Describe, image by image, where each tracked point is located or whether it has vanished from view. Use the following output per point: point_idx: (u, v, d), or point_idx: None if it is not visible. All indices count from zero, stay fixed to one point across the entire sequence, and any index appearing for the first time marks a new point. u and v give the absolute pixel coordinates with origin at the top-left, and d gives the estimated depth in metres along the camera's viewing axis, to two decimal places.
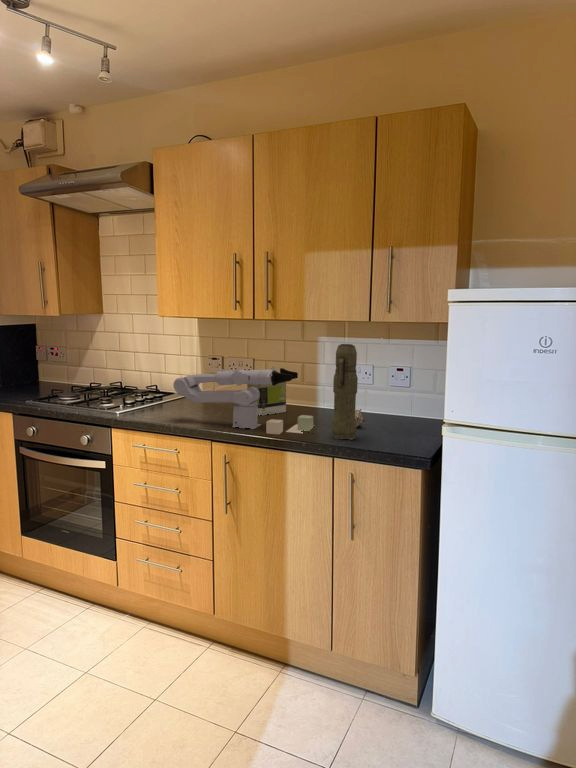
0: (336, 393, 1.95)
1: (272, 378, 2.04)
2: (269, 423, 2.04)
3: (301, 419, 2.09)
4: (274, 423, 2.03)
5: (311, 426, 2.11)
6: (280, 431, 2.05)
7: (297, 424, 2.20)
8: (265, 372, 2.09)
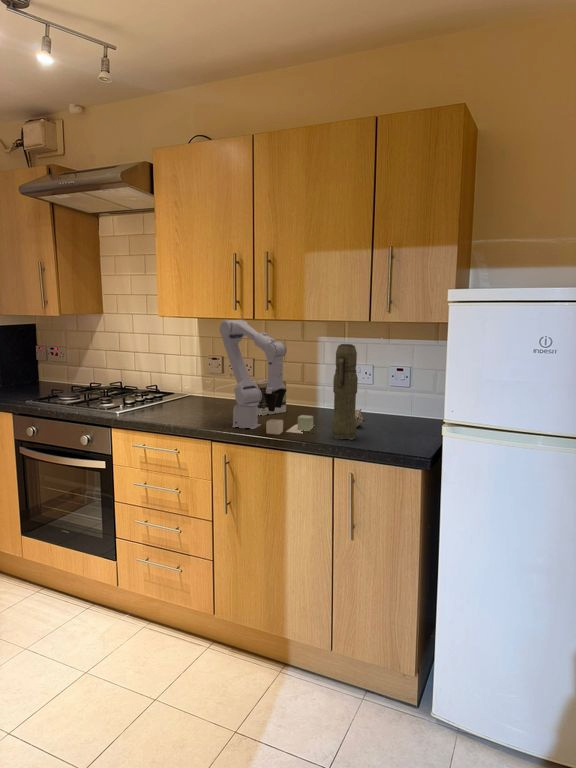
0: (336, 393, 1.95)
1: (269, 394, 1.98)
2: (269, 423, 2.04)
3: (301, 419, 2.09)
4: (274, 423, 2.03)
5: (311, 426, 2.11)
6: (280, 431, 2.05)
7: (297, 424, 2.20)
8: (278, 381, 2.01)
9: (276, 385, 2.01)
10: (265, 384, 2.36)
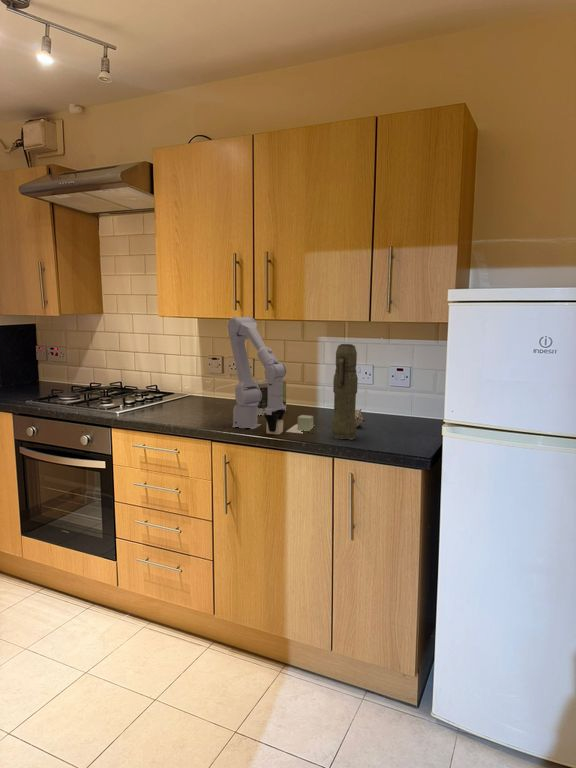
0: (336, 393, 1.95)
1: (270, 414, 2.00)
2: None
3: (301, 419, 2.09)
4: None
5: (311, 426, 2.11)
6: (280, 431, 2.05)
7: (297, 424, 2.20)
8: (278, 403, 2.02)
9: (276, 406, 2.02)
10: (265, 384, 2.36)
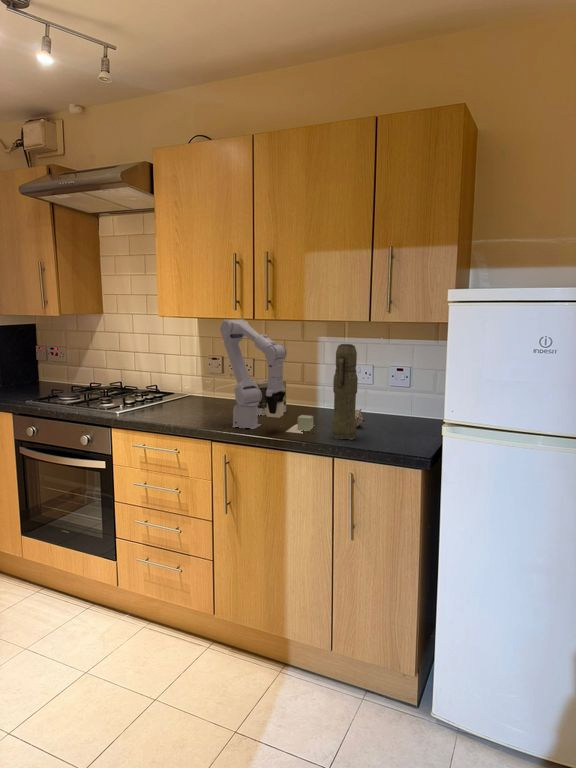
0: (336, 393, 1.95)
1: (270, 396, 1.99)
2: None
3: (301, 419, 2.09)
4: None
5: (311, 426, 2.11)
6: (280, 413, 2.04)
7: (297, 424, 2.20)
8: (278, 384, 2.01)
9: (276, 388, 2.01)
10: (265, 384, 2.36)
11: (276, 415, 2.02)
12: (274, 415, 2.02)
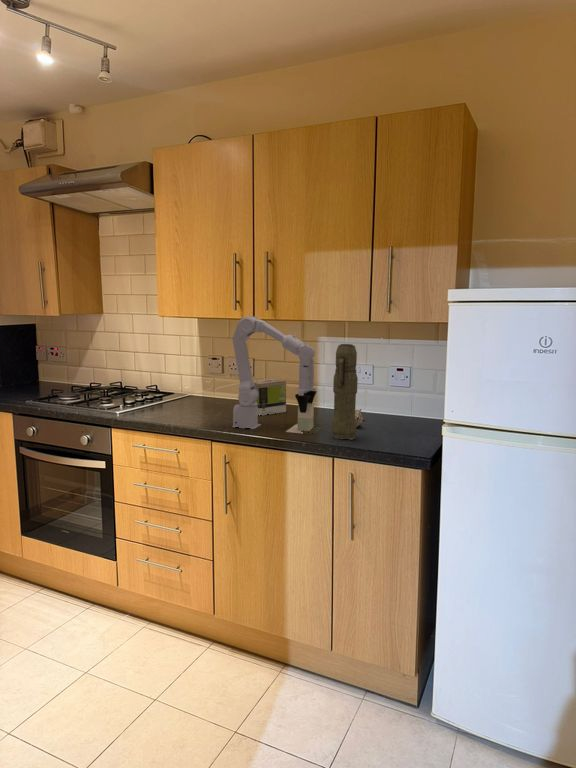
0: (336, 393, 1.95)
1: (301, 396, 2.04)
2: None
3: (301, 419, 2.09)
4: None
5: (311, 426, 2.11)
6: (311, 414, 2.10)
7: (297, 424, 2.20)
8: (309, 384, 2.07)
9: (307, 387, 2.07)
10: (265, 384, 2.37)
11: (307, 416, 2.08)
12: (305, 416, 2.09)
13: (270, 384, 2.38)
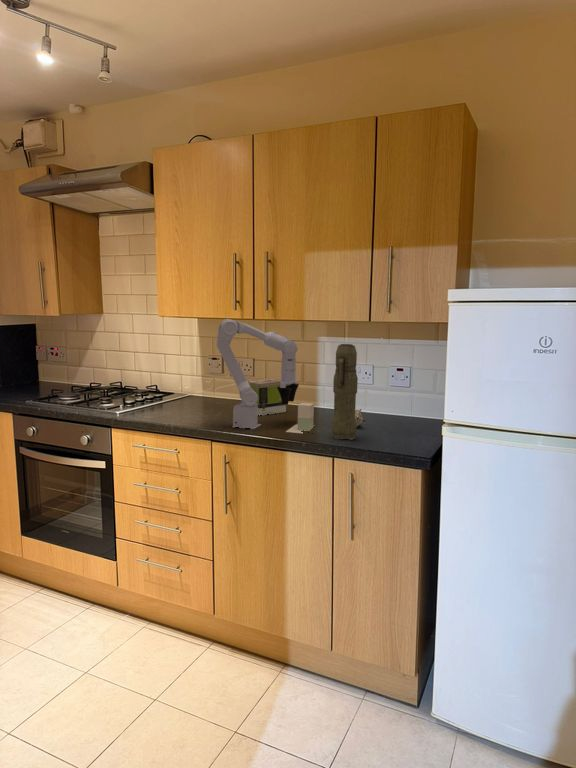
0: (336, 393, 1.95)
1: (283, 388, 2.11)
2: (301, 406, 2.09)
3: (301, 419, 2.09)
4: (306, 406, 2.08)
5: (311, 426, 2.11)
6: (311, 414, 2.10)
7: (297, 424, 2.20)
8: (291, 377, 2.14)
9: (289, 380, 2.14)
10: (265, 384, 2.36)
11: (307, 416, 2.08)
12: (305, 416, 2.09)
13: (270, 384, 2.38)
